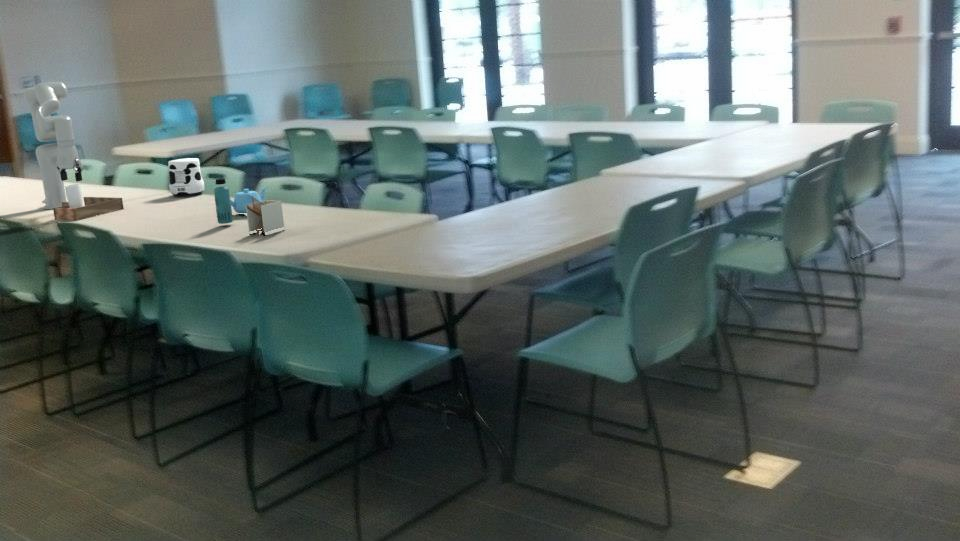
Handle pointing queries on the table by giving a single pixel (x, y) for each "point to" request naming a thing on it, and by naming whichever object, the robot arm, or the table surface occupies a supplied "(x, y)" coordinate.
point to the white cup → (74, 195)
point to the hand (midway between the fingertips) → (71, 180)
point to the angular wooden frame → (88, 208)
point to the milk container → (185, 177)
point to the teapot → (246, 199)
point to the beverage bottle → (223, 203)
